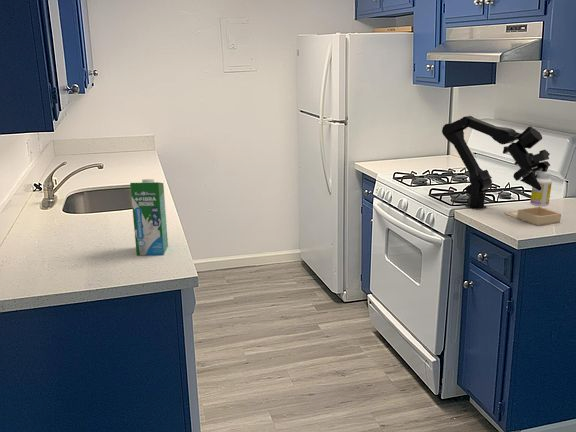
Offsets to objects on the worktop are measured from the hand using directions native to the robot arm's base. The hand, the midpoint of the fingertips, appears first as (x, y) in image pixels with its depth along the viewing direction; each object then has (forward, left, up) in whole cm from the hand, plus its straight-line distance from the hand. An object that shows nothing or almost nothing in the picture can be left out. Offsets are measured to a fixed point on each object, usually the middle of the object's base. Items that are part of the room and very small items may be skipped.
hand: (545, 188), depth 223 cm
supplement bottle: (-1, -1, -7) cm, 7 cm away
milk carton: (-27, -145, -13) cm, 148 cm away
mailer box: (-5, 0, -13) cm, 14 cm away
